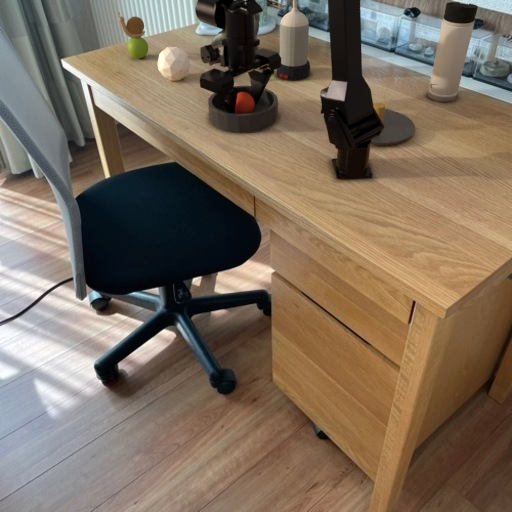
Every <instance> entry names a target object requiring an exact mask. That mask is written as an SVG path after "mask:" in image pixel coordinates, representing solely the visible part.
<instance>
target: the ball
mask: <svg viewBox="0 0 512 512" xmlns="http://www.w3.org/2000/svg"><path fill="white" fill-rule="evenodd" d="M254 105H255V103H254V99H253V98H252V96H251V95H250V94H248V93H246V92H240V93H238V95H237V101H236V108H235V114H250V113H252V111H253V109H254Z"/></svg>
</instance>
